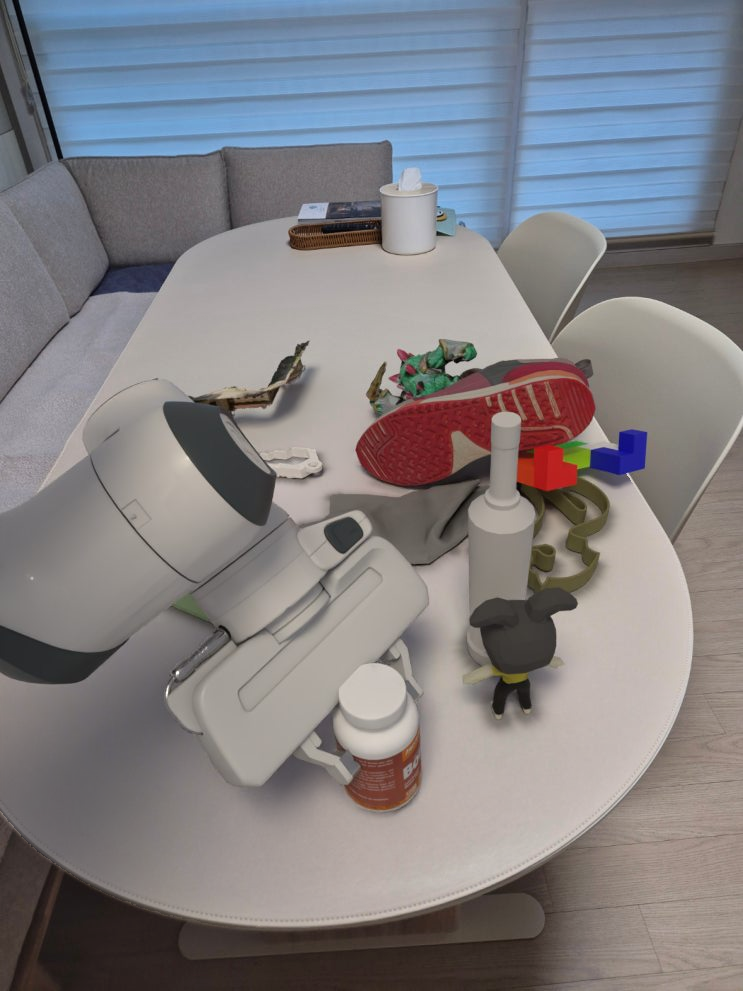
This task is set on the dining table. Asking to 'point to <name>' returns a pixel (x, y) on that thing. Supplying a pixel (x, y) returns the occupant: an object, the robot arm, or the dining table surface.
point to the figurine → (420, 374)
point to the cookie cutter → (576, 535)
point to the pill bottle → (379, 737)
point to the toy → (518, 642)
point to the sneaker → (478, 419)
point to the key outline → (294, 470)
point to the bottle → (499, 530)
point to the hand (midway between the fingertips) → (384, 737)
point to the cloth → (415, 517)
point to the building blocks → (580, 460)
